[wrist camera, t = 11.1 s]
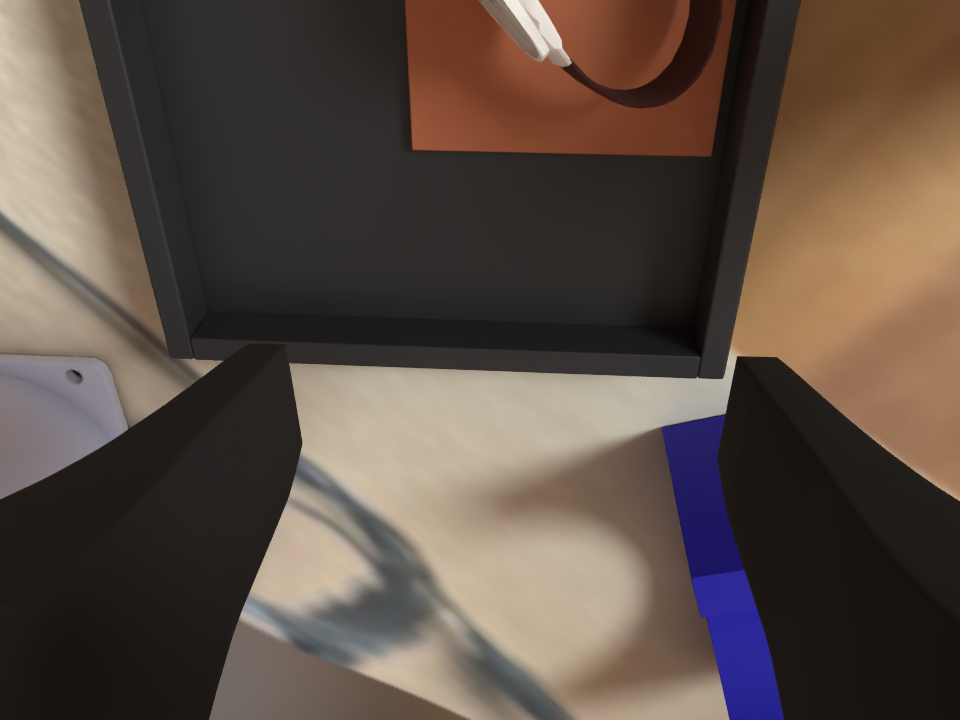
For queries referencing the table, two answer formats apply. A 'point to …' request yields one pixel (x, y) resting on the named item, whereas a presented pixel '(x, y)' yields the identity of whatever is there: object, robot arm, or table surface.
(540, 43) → the watch
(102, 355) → the table surface
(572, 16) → the corner pad
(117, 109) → the tray
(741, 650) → the blue u-shaped bracket
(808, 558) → the robot arm
